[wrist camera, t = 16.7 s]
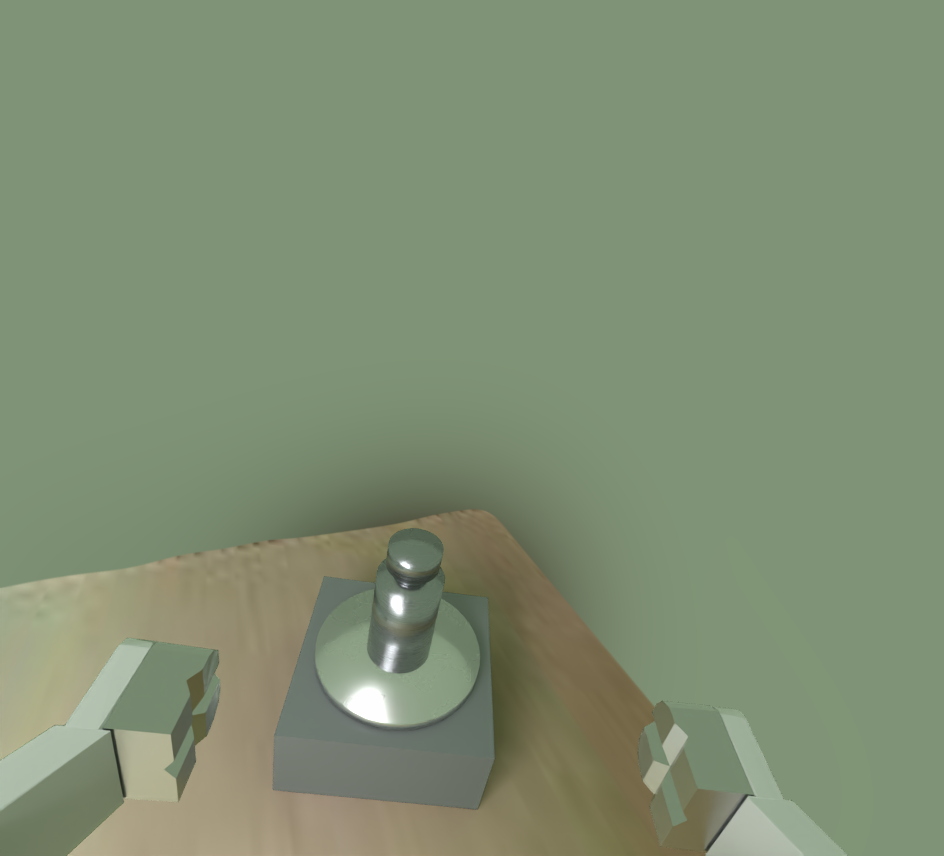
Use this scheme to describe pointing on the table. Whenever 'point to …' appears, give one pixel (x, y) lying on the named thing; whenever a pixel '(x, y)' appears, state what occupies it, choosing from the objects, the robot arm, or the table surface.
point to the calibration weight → (406, 601)
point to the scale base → (381, 751)
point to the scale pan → (391, 694)
